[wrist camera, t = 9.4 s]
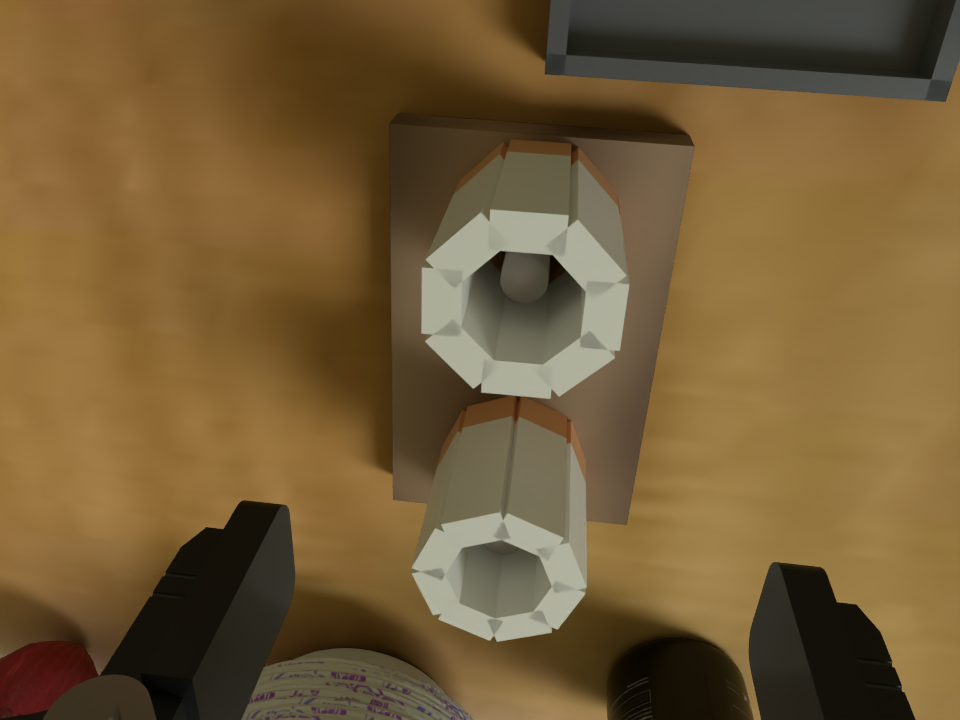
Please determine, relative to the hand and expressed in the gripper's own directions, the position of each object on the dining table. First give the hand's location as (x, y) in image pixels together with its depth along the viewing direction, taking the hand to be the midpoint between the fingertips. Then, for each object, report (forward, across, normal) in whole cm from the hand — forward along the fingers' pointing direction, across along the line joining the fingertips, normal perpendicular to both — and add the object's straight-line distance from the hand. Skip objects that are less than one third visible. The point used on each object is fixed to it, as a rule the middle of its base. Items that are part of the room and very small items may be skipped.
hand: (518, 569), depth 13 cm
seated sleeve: (+17, +1, +10) cm, 19 cm away
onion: (+18, +24, +27) cm, 40 cm away
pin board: (+18, +1, +5) cm, 19 cm away
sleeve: (+17, +1, 0) cm, 17 cm away
